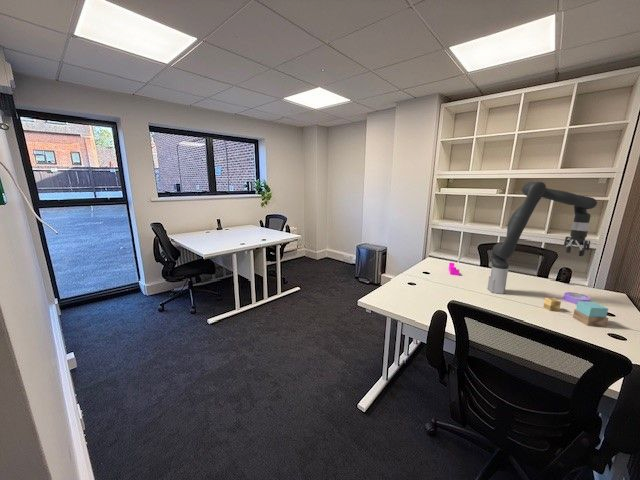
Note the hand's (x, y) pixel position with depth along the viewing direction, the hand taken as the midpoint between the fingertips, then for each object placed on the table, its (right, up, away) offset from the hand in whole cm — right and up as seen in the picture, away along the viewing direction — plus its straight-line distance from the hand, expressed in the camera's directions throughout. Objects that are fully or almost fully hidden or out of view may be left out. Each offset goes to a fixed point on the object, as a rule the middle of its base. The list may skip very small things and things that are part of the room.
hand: (574, 254), depth 168 cm
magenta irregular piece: (-52, -19, +49) cm, 74 cm away
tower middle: (-20, -30, -29) cm, 46 cm away
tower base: (-20, -35, -28) cm, 49 cm away
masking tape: (-1, -30, -3) cm, 30 cm away
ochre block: (-27, -32, -14) cm, 44 cm away
